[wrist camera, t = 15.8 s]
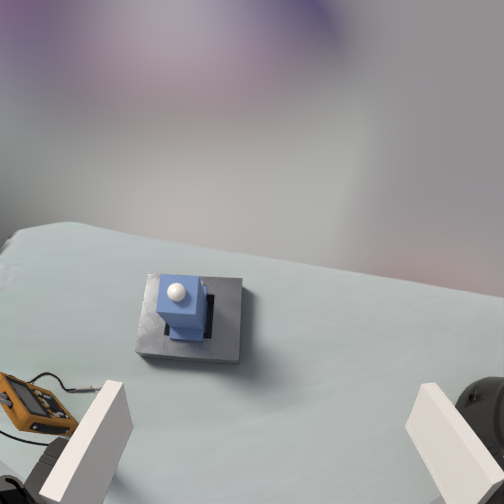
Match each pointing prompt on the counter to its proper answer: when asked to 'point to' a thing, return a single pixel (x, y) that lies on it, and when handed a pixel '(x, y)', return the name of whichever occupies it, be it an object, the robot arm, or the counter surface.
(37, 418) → the multimeter
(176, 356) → the plate
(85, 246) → the counter surface
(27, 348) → the counter surface
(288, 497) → the counter surface
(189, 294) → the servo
